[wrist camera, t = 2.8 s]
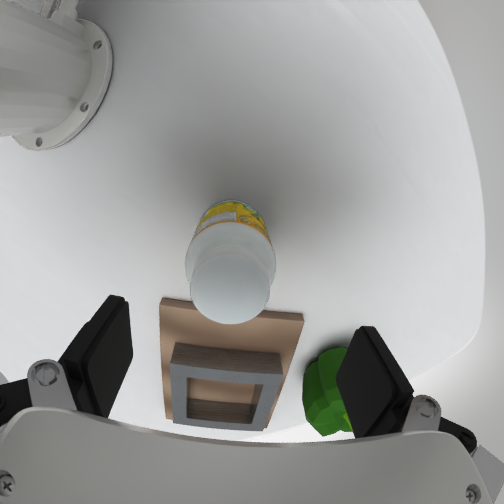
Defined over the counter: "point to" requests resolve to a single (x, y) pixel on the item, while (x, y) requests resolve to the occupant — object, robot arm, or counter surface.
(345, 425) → the bell pepper
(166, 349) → the docking plate
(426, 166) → the counter surface
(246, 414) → the socket collar
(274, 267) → the supplement bottle
